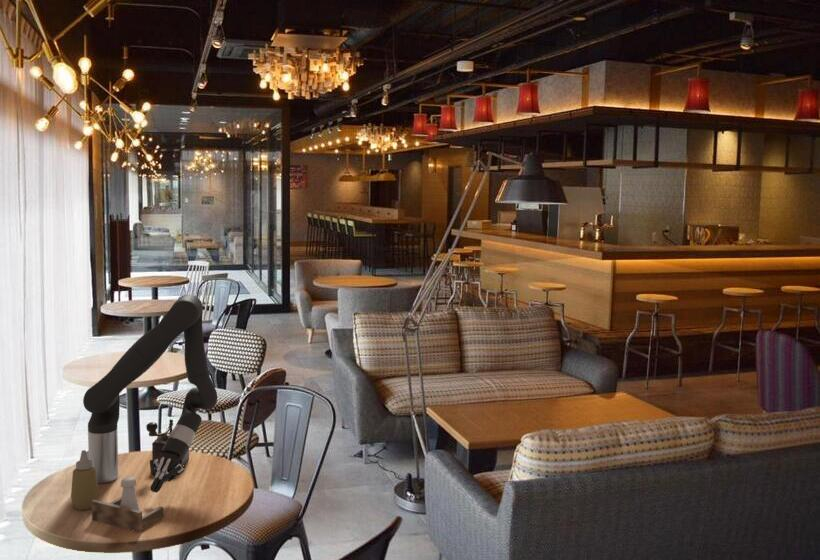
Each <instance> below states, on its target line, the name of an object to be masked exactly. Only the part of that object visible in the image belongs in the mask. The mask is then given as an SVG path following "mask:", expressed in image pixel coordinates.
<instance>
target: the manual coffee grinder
mask: <svg viewBox="0 0 820 560" xmlns="http://www.w3.org/2000/svg"><path fill="white" fill-rule="evenodd" d="M168 421H169V423H168V428H167V429H166V430H165V431H164V432H161V433H158V432H157V429H158V428H159V426H158V423H157V422H154V421H152V422H149V423H147V424H146V425H145V427H146V431H147V432H148V436H149V437H156V439H155V440H154V441H153V442H152V444H151V445H152V448H151V450H152V455H151V457H152V458H151V460H156V459H158V457H159V456H160V455H161V454H162V449H163V447H164V445H165V443H166V441H167V439H168V438H169V436H170V434H171V432H172V430H173V426H174V420H173V419H169V420H168ZM189 452H190V448H189V449H188V451H187V453H186V455H185V457H184V459H182V463H181V466H182V468H184V466H185V465H186V464H187V462H188V461H189V460H190V453H189ZM185 463H186V464H185ZM184 464H185V465H184ZM183 465H184V466H183ZM157 468H158V467H157Z"/></svg>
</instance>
